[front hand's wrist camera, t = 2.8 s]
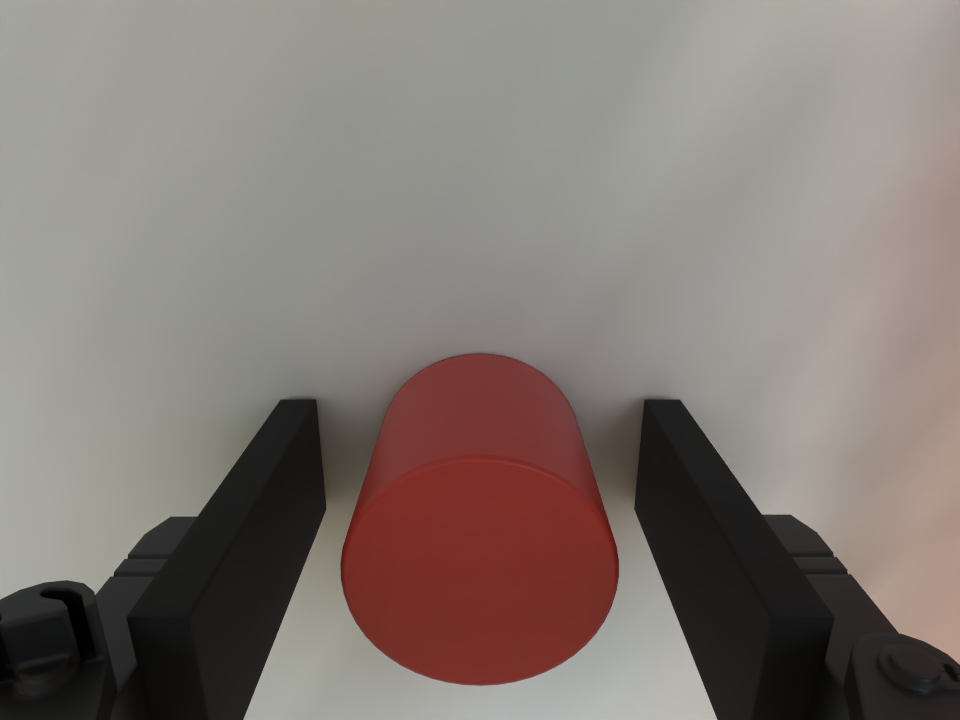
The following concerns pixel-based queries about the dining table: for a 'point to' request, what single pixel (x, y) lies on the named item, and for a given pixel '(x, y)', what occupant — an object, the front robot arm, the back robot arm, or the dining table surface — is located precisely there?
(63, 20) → the dining table surface
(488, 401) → the canister
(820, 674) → the front robot arm
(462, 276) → the dining table surface
